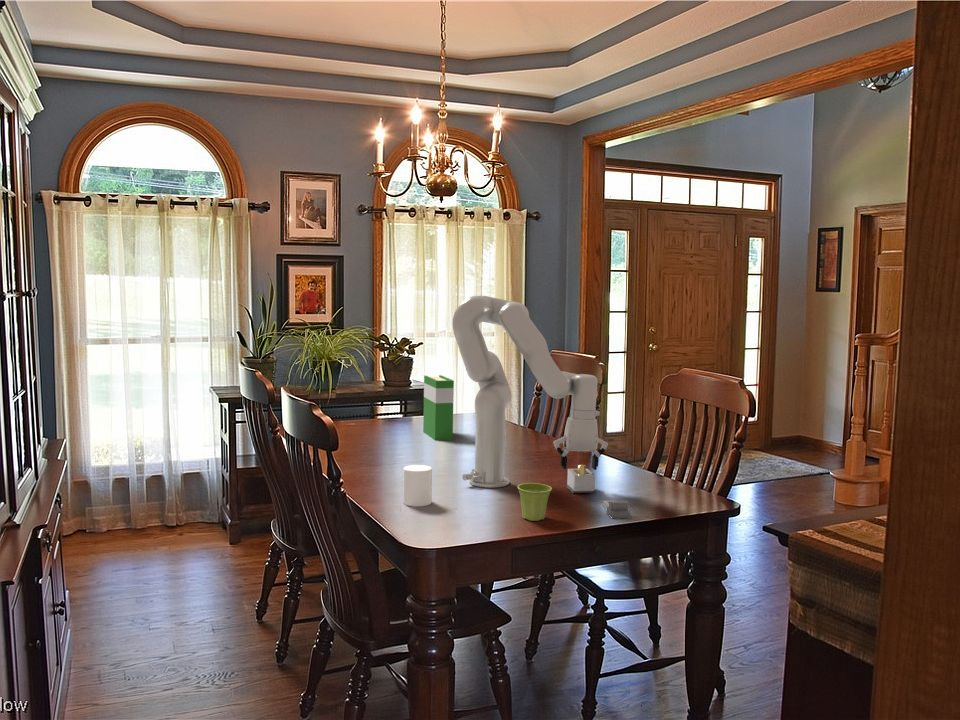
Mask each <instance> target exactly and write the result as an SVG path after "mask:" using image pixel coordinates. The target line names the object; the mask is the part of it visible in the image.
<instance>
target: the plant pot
mask: <svg viewBox="0 0 960 720" xmlns="http://www.w3.org/2000/svg"><path fill="white" fill-rule="evenodd" d="M517 489H518V492H519V496H520V505H521V517H522V519H524V520H525V519H526V520H527V521H531V522H532V521H535V522H538V521H541V520H545V518H546V511H547V505H548V500H549V496H550V494H551V491H553V489H552V486H550V485H549V484H544V483H537V482H526V483H525V482H524V483H521V484H518V485H517Z"/></svg>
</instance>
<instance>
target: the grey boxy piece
mask: <svg viewBox="0 0 960 720" xmlns="http://www.w3.org/2000/svg"><path fill="white" fill-rule="evenodd" d="M608 501H609V507H607V510H606V514H607V515H608V516H609V515H610V516H611V517H612V518H623V519H630V516H631V515H630V514H631V511H630V510H629V502H628V500H608ZM610 516H609V517H610ZM611 517H610V518H611ZM612 518H611V519H612Z"/></svg>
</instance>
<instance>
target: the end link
mask: <svg viewBox="0 0 960 720" xmlns="http://www.w3.org/2000/svg"><path fill="white" fill-rule="evenodd" d="M595 481H596V474H594V473H593V472H592V471H591V470H590V469H589V468H586V470H585V474H578V468H567V481H566V484H567V485H568V486H569V487H570V488H571V489H572V490H573V491H594V490H595V489H596V487H595V486H596V482H595ZM567 485H566V486H567Z"/></svg>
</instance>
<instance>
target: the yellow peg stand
mask: <svg viewBox="0 0 960 720" xmlns="http://www.w3.org/2000/svg"><path fill="white" fill-rule="evenodd" d="M586 466H587V465H585V464H577V469H578V474H585V470H586V469H587V467H586ZM567 488H568V489H569V490H570V491H571V492H572V493H571V492H570V491H569V490H568V489H567ZM566 489H567V490H568V491H569V492H570V493H571V494H573V493H595V494H596V490H595V489H594V491H573V490H572V489H571V488H570V487H569V486H568V485H566Z"/></svg>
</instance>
